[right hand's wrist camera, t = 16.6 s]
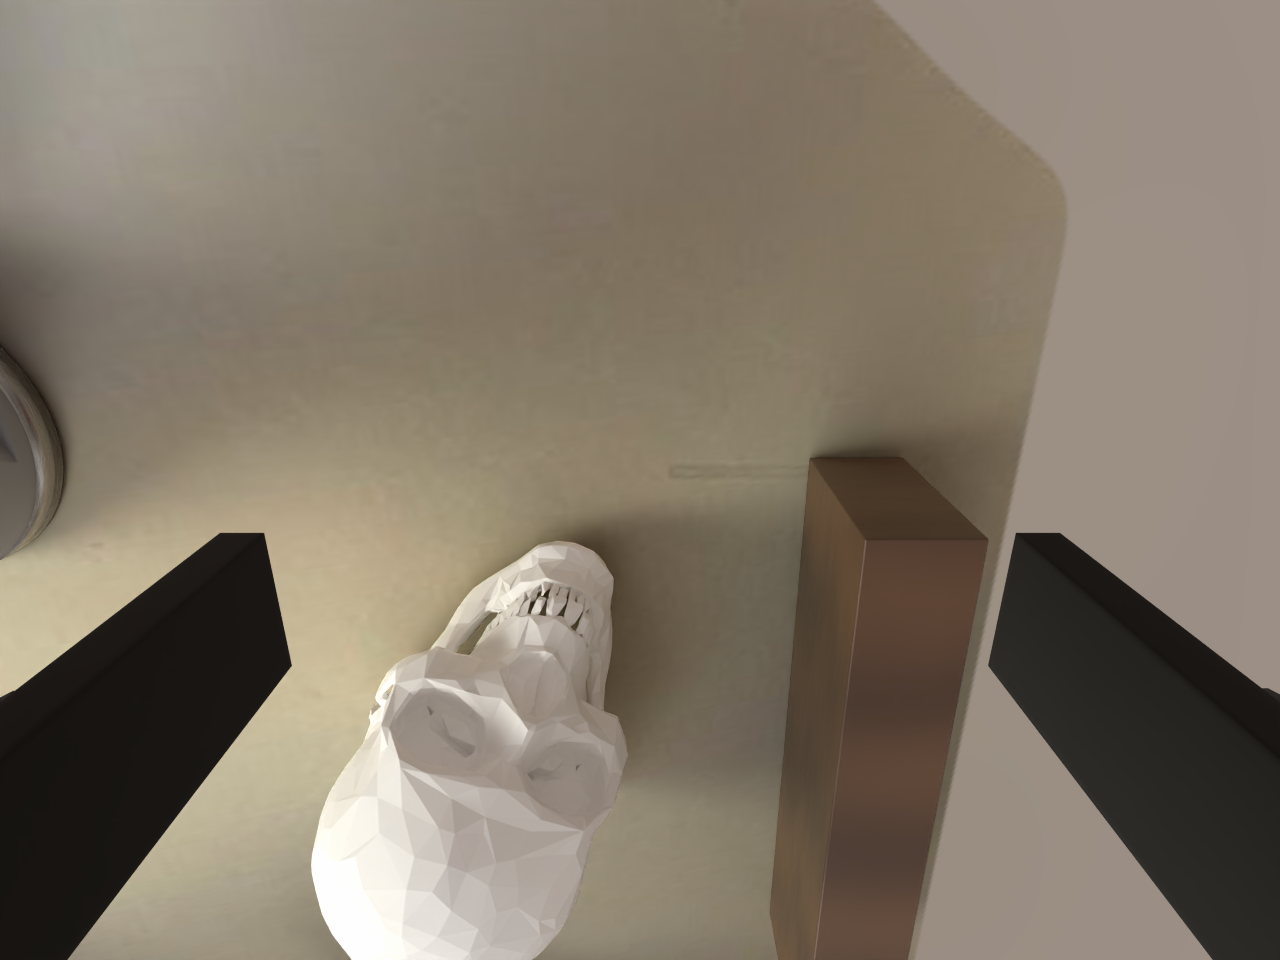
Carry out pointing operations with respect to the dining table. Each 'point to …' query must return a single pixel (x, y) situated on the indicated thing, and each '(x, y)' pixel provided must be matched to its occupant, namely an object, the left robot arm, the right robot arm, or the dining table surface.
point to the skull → (480, 776)
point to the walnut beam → (869, 705)
